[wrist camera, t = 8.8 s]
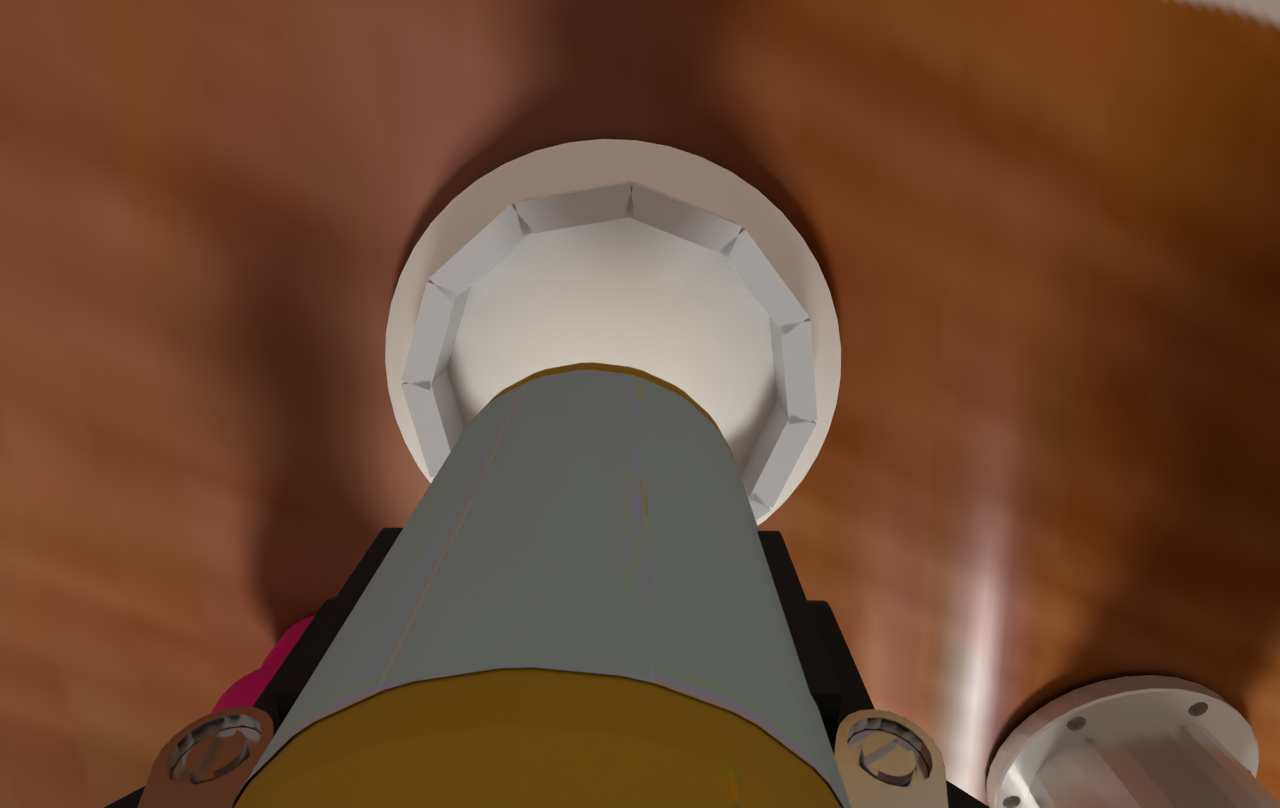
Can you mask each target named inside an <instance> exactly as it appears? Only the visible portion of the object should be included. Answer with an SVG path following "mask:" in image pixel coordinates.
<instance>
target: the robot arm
mask: <svg viewBox="0 0 1280 808" xmlns="http://www.w3.org/2000/svg"><path fill="white" fill-rule="evenodd" d="M402 529H403V528H383V530H382V531H381V532H380V533H379V535H378V536H377V538H376V539H375V541H374V542H373V544H372V545H371V547H370V548H369V550H368V551H367V553H366V554H365V555H364V557H363V558H362V560H361V561H360V563H359V564H358V566H357V567H356V569H355V570H354V572H353V573H352V575H351V576H350V578H349V579H348V581H347V582H346V584H345V585H344V587H343V588H342V589H341V591H340V592H339V594H338V595H337V597H333V598H330V599H328V600H327V601H326V602H325V603H324V604H323V605H322V607H321V608H320V610H319V611H318V613H317V614H316V615H315V617H314V618H313V620H312V621H311V623H310V624H309V626H308V627H307V628H306V630H305V631H304V633H303V634H302V636H301V637H300V639H299V640H298V641H297V643H296V644H295V646H294V647H293V649H292V650H291V651H290V653H289V654H288V656H287V657H286V659H285V660H284V662H283V663H282V664H281V666H280V667H279V669H278V670H277V672H276V673H275V675H274V676H273V677H272V679H271V680H270V682H269V683H268V685H267V686H266V687H265V689H264V690H263V692H262V693H261V695H260V696H259V698H258V699H257V700H256V702H255V703H254V705H253V706H252V707H247V706H239V707H232V708H226V709H223V710H220V711H217V712H214V713H211V714H208V715H206V716H204V717H202V718H200V719H198V720H196V721H194V722H193V723H191V724H189V725H188V726H186V727H185V728H184V729H182V730H181V731H180V732H178V733H177V734H176V735H174V736H173V737H172V739H171V740H170V741H169V742H168V743H167V744H166V745H165V746H164V747H163V748H162V749H161V751H160V753H159V755H158V756H157V758H156V760H155V762H154V764H153V766H152V769H151V772H150V775H149V777H148V780H147V783H146V786H144V787H142V788H140V789H138V790H136V791H135V792H133V793H131V794H129V795H127V796H125V797H123V798H121V799H120V800H118V801H116V802H114V803H112V804H110V805H108V806H106V807H104V808H232V805H233V802H234V800H235V798H236V797H237V795H238V793H239V792H240V790H241V789H242V787H243V785H244V784H245V782H246V781H247V779H248V777H249V776H250V774H251V772H252V771H253V769H254V768H255V766H256V764H257V763H258V761H259V760H260V758H261V756H262V755H263V753H264V752H265V750H266V748H267V747H268V745H269V743H270V742H271V740H272V739H273V737H274V735H275V734H276V732H277V731H278V729H279V727H280V726H281V724H282V723H283V721H284V719H285V718H286V716H287V715H288V713H289V711H290V710H291V708H292V706H293V705H294V703H295V702H296V700H297V698H298V697H299V695H300V694H301V692H302V690H303V689H304V687H305V686H306V684H307V682H308V681H309V679H310V678H311V676H312V674H313V673H314V671H315V669H316V668H317V666H318V665H319V663H320V661H321V660H322V658H323V657H324V655H325V653H326V652H327V650H328V649H329V647H330V645H331V644H332V642H333V640H334V639H335V637H336V636H337V634H338V632H339V631H340V629H341V628H342V626H343V624H344V623H345V621H346V620H347V618H348V616H349V615H350V613H351V612H352V610H353V608H354V607H355V605H356V603H357V602H358V600H359V599H360V597H361V595H362V594H363V592H364V591H365V589H366V587H367V586H368V584H369V583H370V581H371V579H372V578H373V576H374V574H375V573H376V571H377V570H378V568H379V566H380V565H381V563H382V562H383V560H384V558H385V557H386V555H387V554H388V552H389V550H390V549H391V547H392V546H393V544H394V542H395V541H396V539H397V537H398V536H399V534H400V533H401V531H402ZM757 532H758V536H759V539H760V542H761V545H762V548H763V551H764V554H765V557H766V560H767V563H768V566H769V569H770V572H771V575H772V578H773V581H774V584H775V587H776V591H777V594H778V597H779V600H780V603H781V606H782V609H783V612H784V615H785V618H786V621H787V624H788V627H789V630H790V633H791V636H792V639H793V642H794V645H795V649H796V652H797V655H798V658H799V661H800V664H801V667H802V670H803V673H804V676H805V679H806V682H807V685H808V688H809V691H810V694H811V696H812V697H813V699H814V701H815V703H816V704H817V706H818V709H819V712H820V715H821V718H822V721H823V724H824V727H825V730H826V733H827V736H828V739H829V742H830V745H831V748H832V751H833V754H834V757H835V760H836V763H837V766H838V769H839V772H840V775H841V778H842V781H843V784H844V787H845V790H846V793H847V796H848V799H849V802H850V805H851V808H1280V802H1279V801H1278V800H1277V799H1276V798H1275V797H1274V796H1273V795H1272V794H1271V793H1270V792H1269V791H1268V790H1267V789H1266V788H1265V787H1264V786H1263V785H1262V784H1261V783H1260V782H1259V781H1258V780H1257V779H1256V774H1257V769H1258V763H1259V752H1258V742H1257V740H1256V737H1255V735H1254V733H1253V730H1252V728H1251V726H1250V725H1249V724H1248V722H1247V721H1246V720H1245V719H1244V718H1243V717H1242V715H1241V714H1240V713H1239V712H1238V711H1237V710H1236V709H1234V708H1233V707H1232V706H1231V705H1230V704H1229V703H1228V702H1226V701H1225V700H1224V699H1223V698H1222V697H1221V696H1220V695H1218V694H1217V693H1216V692H1214V691H1212V690H1210V689H1208V688H1206V687H1204V686H1202V685H1200V684H1198V683H1195V682H1191V681H1187V680H1184V679H1180V678H1177V677H1167V676H1157V675H1143V676H1125V677H1119V678H1114V679H1109V680H1104V681H1099V682H1096V683H1093V684H1090V685H1087V686H1084V687H1081V688H1078V689H1075V690H1073V691H1071V692H1068V693H1066V694H1064V695H1062V696H1060V697H1058V698H1056V699H1054V700H1052V701H1050V702H1049V703H1047V704H1046V705H1044V706H1043V707H1041V708H1040V709H1038V710H1037V711H1035V712H1034V713H1032V714H1031V715H1030V716H1028V717H1027V718H1026V719H1025V720H1024V721H1023V722H1022V723H1021V724H1020V725H1019V726H1018V727H1016V728H1015V729H1014V730H1013V731H1012V733H1011V734H1010V735H1009V736H1008V738H1007V739H1006V740H1005V742H1004V743H1003V744H1002V745H1001V747H1000V748H999V750H998V752H997V754H996V756H995V758H994V760H993V762H992V764H991V766H990V770H989V774H988V778H987V782H986V789H987V802H988V805H989V807H988V806H986V805H985V804H983V803H982V802H980V801H978V800H977V799H975V798H974V797H972V796H970V795H969V794H967V793H966V792H964V791H963V790H961V789H959V788H958V787H956V786H955V785H953V784H952V783H950V782H948V781H947V780H946V776H945V766H944V762H943V759H942V755H941V752H940V750H939V749H938V747H937V746H936V744H935V743H934V741H933V739H932V738H931V737H930V736H929V735H928V734H927V733H925V732H924V731H923V730H922V729H921V728H920V727H919V726H917V725H916V724H914V723H913V722H911V721H910V720H908V719H906V718H905V717H902V716H899V715H897V714H894V713H892V712H889V711H883V710H876V709H874V706H873V704H872V702H871V700H870V697H869V695H868V693H867V690H866V688H865V686H864V683H863V681H862V679H861V676H860V674H859V672H858V670H857V667H856V665H855V663H854V660H853V658H852V656H851V653H850V651H849V649H848V646H847V644H846V642H845V640H844V637H843V635H842V633H841V630H840V628H839V626H838V623H837V621H836V619H835V617H834V614H833V612H832V610H831V608H830V606H829V604H828V603H827V602H826V601H807V600H806V597H805V594H804V592H803V589H802V587H801V584H800V582H799V579H798V576H797V574H796V571H795V569H794V566H793V563H792V561H791V558H790V556H789V553H788V551H787V548H786V545H785V543H784V540H783V538H782V535H781V533H780V532H779V531H757Z"/></svg>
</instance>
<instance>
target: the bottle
mask: <svg viewBox="0 0 1280 808" xmlns="http://www.w3.org/2000/svg"><path fill="white" fill-rule="evenodd" d="M757 531H759V529H758V526H757V523H756V520H755V517H754V514H753V511H752V508H751V505H750V502H749V499H748V496H747V493H746V490H745V487H744V484H743V481H742V478H741V475H740V472H739V469H738V466H737V463H736V461H735V459H734V457H733V455H732V452H731V449H730V448H729V446H728V444H727V442H726V440H725V438H724V437H723V435H722V433H721V431H720V429H719V427H718V425H717V424H716V422H715V421H714V420H713V418H712V417H711V416H710V415H709V413H707V412H706V411H705V410H704V409H703V408H702V407H701V406H700V405H699V404H698V403H696V402H695V401H694V400H693V399H692V398H691V397H690V396H689V395H688V394H687V393H685V392H684V391H683V390H681V389H680V388H678V387H677V386H675V385H674V384H671V383H669V382H667V381H665V380H663V379H660V378H658V377H656V376H654V375H651V374H649V373H647V372H645V371H643V370H639V369H636V368H632V367H628V366H619V365H611V364H603V363H595V362H589V363H576V364H571V365H565V366H560V367H554V368H549V369H544V370H542V371H539V372H536V373H533V374H531V375H529V376H528V377H526V378H524V379H522V380H520V381H518V382H516V383H515V384H513V385H511V386H509V387H507V388H505V389H503V390H502V391H501V392H499V393H498V394H497V395H496V396H494V397H493V398H492V399H491V401H490V402H489V403H488V404H487V405H486V406H485V407H484V408H483V409H482V410H481V411H480V412H479V413H478V415H477V416H476V417H475V418H474V419H473V420H472V421H471V423H470V425H469V426H468V427H467V428H466V429H465V430H464V431H463V433H462V435H461V436H460V438H459V439H458V441H457V443H456V444H455V446H454V447H453V449H452V451H451V452H450V454H449V455H448V457H447V459H446V460H445V462H444V463H443V465H442V467H441V468H440V470H439V471H438V473H437V475H436V476H435V478H434V480H433V481H432V483H431V484H430V486H429V488H428V489H427V491H426V492H425V494H424V496H423V497H422V499H421V500H420V502H419V504H418V505H417V507H416V508H415V510H414V512H413V513H412V515H411V517H410V518H409V520H408V521H407V523H406V525H405V526H404V528H403V529H402V531H401V533H400V534H399V536H398V537H397V539H396V541H395V542H394V544H393V546H392V547H391V549H390V550H389V552H388V554H387V555H386V557H385V558H384V560H383V562H382V563H381V565H380V566H379V568H378V570H377V571H376V573H375V574H374V576H373V578H372V579H371V581H370V583H369V584H368V586H367V587H366V589H365V591H364V592H363V594H362V595H361V597H360V599H359V600H358V602H357V603H356V605H355V607H354V608H353V610H352V612H351V613H350V615H349V616H348V618H347V620H346V621H345V623H344V624H343V626H342V628H341V629H340V631H339V632H338V634H337V636H336V637H335V639H334V640H333V642H332V644H331V645H330V647H329V649H328V650H327V652H326V653H325V655H324V657H323V658H322V660H321V661H320V663H319V665H318V666H317V668H316V669H315V671H314V673H313V674H312V676H311V678H310V679H309V681H308V682H307V684H306V686H305V687H304V689H303V690H302V692H301V694H300V695H299V697H298V698H297V700H296V702H295V703H294V705H293V706H292V708H291V710H290V711H289V713H288V715H287V716H286V718H285V719H284V721H283V723H282V724H281V726H280V727H279V729H278V731H277V732H276V734H275V735H274V737H273V739H272V740H271V742H270V743H269V745H268V747H267V748H266V750H265V752H264V753H263V755H262V756H261V758H260V760H259V761H258V763H257V764H256V766H255V768H254V769H253V771H252V772H251V774H250V776H249V777H248V779H247V781H246V782H245V784H244V785H243V787H242V789H241V790H240V792H239V793H238V795H237V797H236V798H235V800H234V802H233V805H232V808H851V805H850V802H849V799H848V796H847V793H846V790H845V787H844V784H843V781H842V778H841V775H840V772H839V769H838V766H837V763H836V760H835V757H834V754H833V751H832V748H831V745H830V742H829V739H828V736H827V733H826V730H825V727H824V724H823V721H822V718H821V715H820V712H819V709H818V706H817V704H816V703H815V701H814V699H813V697H812V696H811V694H810V691H809V688H808V685H807V682H806V679H805V676H804V673H803V670H802V667H801V664H800V661H799V658H798V655H797V652H796V649H795V645H794V642H793V639H792V636H791V633H790V630H789V627H788V624H787V621H786V618H785V615H784V612H783V609H782V606H781V603H780V600H779V597H778V594H777V591H776V587H775V584H774V581H773V578H772V575H771V572H770V569H769V566H768V563H767V560H766V557H765V554H764V551H763V548H762V545H761V542H760V539H759V536H758V532H757Z"/></svg>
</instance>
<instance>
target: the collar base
mask: <svg viewBox="0 0 1280 808" xmlns="http://www.w3.org/2000/svg"><path fill="white" fill-rule="evenodd" d="M589 362H595V363H603V364H611V365H619V366H628V367H632V368H636V369H639V370H643V371H645V372H647V373H649V374H651V375H654V376H656V377H658V378H660V379H663V380H665V381H667V382H669V383H671V384H674V385H675V386H677V387H678V388H680V389H681V390H683V391H684V392H685V393H687V394H688V395H689V396H690V397H691V398H692V399H693V400H694V401H695V402H696V403H698V404H699V405H700V406H701V407H702V408H703V409H704V410H705V411H706V412H707V413H709V415H710V416H711V417H712V418H713V420H714V421H715V422H716V424H717V425H718V427H719V429H720V431H721V433H722V435H723V437H724V438H725V440H726V442H727V444H728V446H729V448H730V449H731V452H732V455H733V457H734V459H735V461H736V463H737V466H738V469H739V472H740V475H741V478H742V481H743V484H744V487H745V490H746V493H747V496H748V499H749V502H750V505H751V508H752V511H753V514H754V517H755V520H756V523H757V526H758V525H759V524H761V523H762V522H763V521H765V520H766V519H767V518H768V517H769V516H770V515H771V514H772V513H773V512H774V511H776V510H777V509H778V508H779V507H780V506H781V505H782V504H783V503H784V502H785V501H786V500H787V499H788V497H789V496H790V495H791V494H792V492H793V491H794V490H795V489H796V487H797V486H798V485H799V484H800V482H801V481H802V480H803V478H804V477H805V475H806V474H807V472H808V470H809V469H810V467H811V465H812V464H813V462H814V461H815V459H816V457H817V455H818V453H819V451H820V449H821V447H822V444H823V442H824V440H825V438H826V435H827V433H828V431H829V427H830V424H831V421H832V417H833V414H834V411H835V407H836V403H837V397H838V390H839V384H840V377H841V344H840V336H839V328H838V320H837V316H836V312H835V308H834V305H833V301H832V297H831V293H830V290H829V288H828V286H827V283H826V281H825V279H824V276H823V274H822V271H821V269H820V267H819V264H818V262H817V261H816V259H815V257H814V256H813V254H812V252H811V251H810V249H809V248H808V246H807V244H806V243H805V241H804V239H803V238H802V236H801V235H800V234H799V232H798V231H797V230H796V229H795V228H794V226H793V225H792V224H791V223H790V221H789V220H788V219H787V218H786V217H785V215H784V214H783V213H782V212H781V211H780V210H779V209H778V208H777V207H776V206H775V205H774V204H772V203H771V202H770V201H769V200H768V199H767V198H766V197H765V196H764V195H763V194H762V193H761V192H759V191H758V190H757V189H755V188H754V187H753V186H751V185H750V184H748V183H747V182H745V181H744V180H742V179H741V178H740V177H738V176H737V175H735V174H734V173H732V172H731V171H729V170H727V169H725V168H723V167H721V166H719V165H717V164H715V163H713V162H711V161H709V160H707V159H705V158H703V157H700V156H697V155H694V154H691V153H688V152H685V151H682V150H679V149H676V148H673V147H670V146H665V145H659V144H654V143H648V142H643V141H638V140H616V139H597V140H587V141H578V142H569V143H564V144H560V145H556V146H552V147H548V148H544V149H540V150H536V151H534V152H532V153H529V154H527V155H524V156H522V157H519V158H517V159H514V160H512V161H510V162H507V163H505V164H503V165H502V166H500V167H498V168H496V169H495V170H493V171H491V172H490V173H488V174H486V175H485V176H483V177H481V178H479V179H478V180H476V181H475V182H474V183H473V184H472V185H470V186H469V187H468V188H467V189H465V190H464V191H463V192H462V193H460V194H459V195H458V196H457V197H455V198H454V199H453V200H452V201H451V202H450V203H449V204H448V205H447V206H446V207H445V208H444V209H443V211H442V212H441V213H440V214H439V215H438V216H437V217H436V218H435V219H434V220H433V221H432V222H431V224H430V225H429V227H428V228H427V230H426V231H425V232H424V234H423V235H422V237H421V238H420V240H419V241H418V243H417V244H416V246H415V247H414V248H413V251H412V253H411V255H410V257H409V259H408V261H407V263H406V265H405V267H404V269H403V271H402V273H401V275H400V278H399V281H398V284H397V287H396V290H395V293H394V296H393V299H392V303H391V307H390V313H389V319H388V325H387V330H386V354H385V364H386V373H387V382H388V390H389V394H390V398H391V402H392V406H393V410H394V414H395V418H396V421H397V423H398V426H399V428H400V431H401V433H402V436H403V438H404V441H405V443H406V445H407V447H408V449H409V450H410V452H411V454H412V456H413V458H414V460H415V461H416V463H417V465H418V467H419V468H420V470H421V471H422V472H423V474H424V475H425V476H426V478H427V479H428V481H429V482H430V483H432V481H433V480H434V478H435V476H436V475H437V473H438V471H439V470H440V468H441V467H442V465H443V463H444V462H445V460H446V459H447V457H448V455H449V454H450V452H451V451H452V449H453V447H454V446H455V444H456V443H457V441H458V439H459V438H460V436H461V435H462V433H463V431H464V430H465V429H466V428H467V427H468V426H469V425H470V423H471V421H472V420H473V419H474V418H475V417H476V416H477V415H478V413H479V412H480V411H481V410H482V409H483V408H484V407H485V406H486V405H487V404H488V403H489V402H490V401H491V399H492V398H493V397H494V396H496V395H497V394H498V393H499V392H501V391H502V390H503V389H505V388H507V387H509V386H511V385H513V384H515V383H516V382H518V381H520V380H522V379H524V378H526V377H528V376H529V375H531V374H533V373H536V372H539V371H542V370H544V369H549V368H554V367H560V366H565V365H571V364H576V363H589Z"/></svg>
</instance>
